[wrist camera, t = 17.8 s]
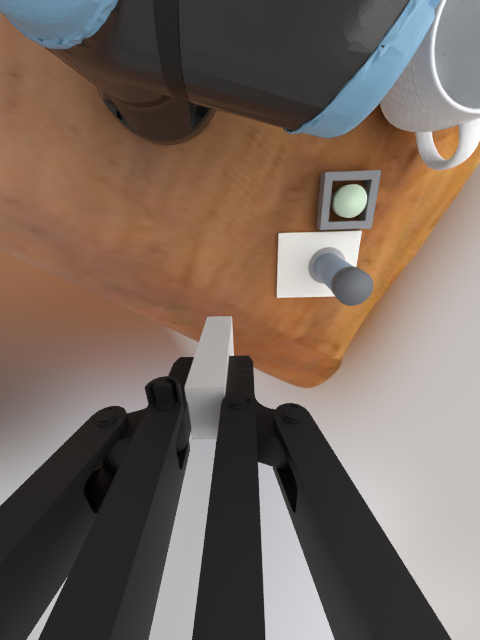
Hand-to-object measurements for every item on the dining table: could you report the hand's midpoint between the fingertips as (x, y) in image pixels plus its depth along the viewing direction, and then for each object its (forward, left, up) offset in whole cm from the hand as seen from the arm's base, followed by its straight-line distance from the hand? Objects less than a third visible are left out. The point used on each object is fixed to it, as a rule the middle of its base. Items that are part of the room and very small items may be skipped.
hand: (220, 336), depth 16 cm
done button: (-7, +16, -26) cm, 31 cm away
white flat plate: (+2, +13, -26) cm, 29 cm away
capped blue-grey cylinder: (+2, +14, -26) cm, 29 cm away
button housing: (-7, +16, -26) cm, 31 cm away
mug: (-18, +22, -27) cm, 39 cm away
